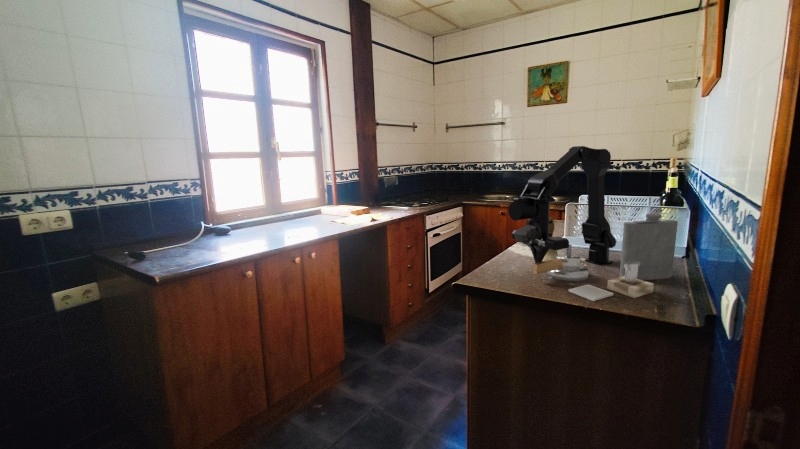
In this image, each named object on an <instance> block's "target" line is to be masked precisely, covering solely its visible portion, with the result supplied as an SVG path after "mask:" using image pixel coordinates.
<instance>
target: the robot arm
mask: <svg viewBox="0 0 800 449" xmlns="http://www.w3.org/2000/svg"><path fill="white" fill-rule="evenodd" d="M611 160H612V155H611V151H609V150H608V149H606V148H592V147H588V146H584V145H581V146H580V145H577V146H576V145H575V146H572V147H570V148H569V149H568V151H567V152H566V153H565V154H564V155H562V156H561V157H560V158H559V159H558V160H557V161H556V162H554V163H553V164H552V165H551V166H550V167H549V168H547V169H546V170H544V171H542V172H541V171H540V172H538V173H536V174H534V175H532V176H531V177H530V178H529V179H528V181H527V184H526V185H525V187H524V189H523V191H522V193H521V194H520V196H519V197H514V198H512V199H513V200H512V202H511V203H510V204H509V207H508V208H507V212H508V216H509V218H510V219H511V220H512V221H513V222H514V221H515V222H517V221H523V220H526V222H525V225H524V226H522V227H520V228H519V229H514V230H513V231H512V232H511V238H512V239H513V240H515V241H516V242H517V243H521V244H524V245H526V246H527V247H529V249H530V252H531V253H532V257H533V260H534V263H539V262H542V260H543V258H544V257H545V255H546V253H547V252H548V250H549V249H551V250H557V251H559V250H560V251H561V250H566V248H569V245H570V241H569V240H568V238H566V237H562V236H553V237H552V238H548V237H550V236H552V233H549V224H551V223H552V220H549V217H550V212H551V210H550V209H551V203H555V202H556V199H555V198H554V197H553V196H552V194H553V193H554V192H555V190H556V189H557V188H558V186H559V182H560V180H561V179H563V177H564V176H566V174H568V173H569V172H570V171H571V170H572V169H574V168H575V167H576V166H577V165H578V164H580V163H581V168H582V170H583V173H584V174H585V175H586V177H587V214H588V215H587V218H586V220H585V221H584V222H582V223H581V234H582V236H583V237H582V238H583V240H584V244H587V245H589V248H588V258H584V261H585V262H589V263H592V264H595V265H600V266H602V265H608V264H611V263H613V260H611V259H610V249H613V248H614V247H616V244H617V239H616V238H615V236H614V235H613V234H612V231H611V225H610V222H609V221H608V220H607V218H606V217H605V213H606V212H605V175H606V173H607V171H609V168H610V167H611Z"/></svg>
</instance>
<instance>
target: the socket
mask: <svg viewBox="0 0 800 449" xmlns="http://www.w3.org/2000/svg"><path fill="white" fill-rule="evenodd" d="M624 279H625V276H622V277H620V276H619V277H615V278H612V279H609V280H607V287H606V288H607V290H610V291H614V292H616V293H620V294H622V295H625V296H627V297H630V298H633V299H636V298H639V297H642V296H645V295H648V294H652V293H654V285H655V284H654V283H653V282H649V281H647V280H639V279H637V285H634V286H632V285H629V284H626V283H624Z"/></svg>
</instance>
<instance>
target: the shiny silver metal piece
mask: <svg viewBox="0 0 800 449" xmlns="http://www.w3.org/2000/svg"><path fill="white" fill-rule="evenodd" d="M638 266H640V262H638V261H633V262H626V263H625V264H624V268H625V279H624V283H626V284H629V285H632V286H634V285H637V274H638Z"/></svg>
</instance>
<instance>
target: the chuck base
mask: <svg viewBox="0 0 800 449" xmlns="http://www.w3.org/2000/svg"><path fill="white" fill-rule="evenodd" d="M546 273H547V276H549V277H550V278H553V279H556V280H559V281H564V282H582V281H585V280H587V279H589V269H588V268H586V266H585V267H584V266H582V265H580V270H579V271H574V272H568V271H562V270H559V269H557V270H553V271H549V272H546Z"/></svg>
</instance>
